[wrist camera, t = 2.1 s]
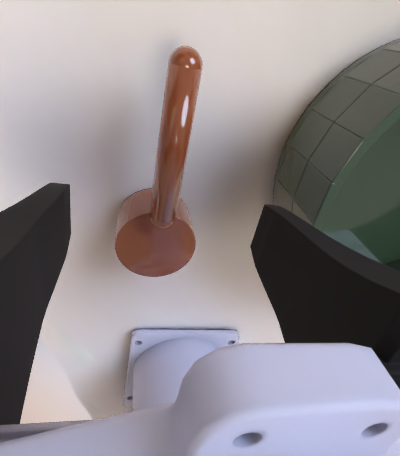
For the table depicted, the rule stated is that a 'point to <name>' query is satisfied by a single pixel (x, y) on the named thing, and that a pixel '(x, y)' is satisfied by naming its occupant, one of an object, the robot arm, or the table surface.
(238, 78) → the table surface
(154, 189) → the brown toy plunger
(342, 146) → the tin
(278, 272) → the robot arm
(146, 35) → the table surface
